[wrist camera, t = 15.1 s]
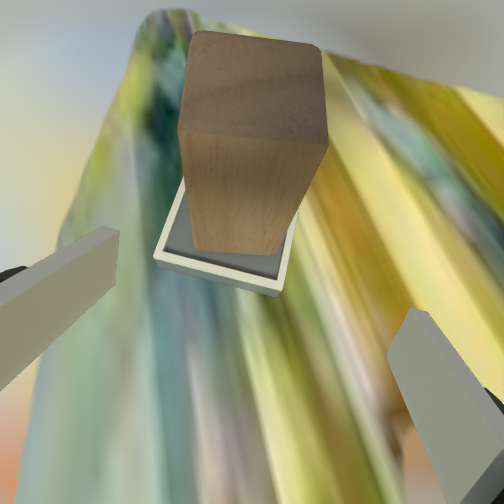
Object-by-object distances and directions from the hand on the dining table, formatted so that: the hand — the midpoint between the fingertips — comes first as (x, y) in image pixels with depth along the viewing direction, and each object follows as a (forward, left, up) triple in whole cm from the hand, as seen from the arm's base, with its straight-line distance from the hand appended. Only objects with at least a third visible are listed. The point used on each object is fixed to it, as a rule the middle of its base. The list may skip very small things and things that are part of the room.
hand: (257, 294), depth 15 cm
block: (+3, -15, -22) cm, 27 cm away
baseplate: (+3, -15, -25) cm, 29 cm away
